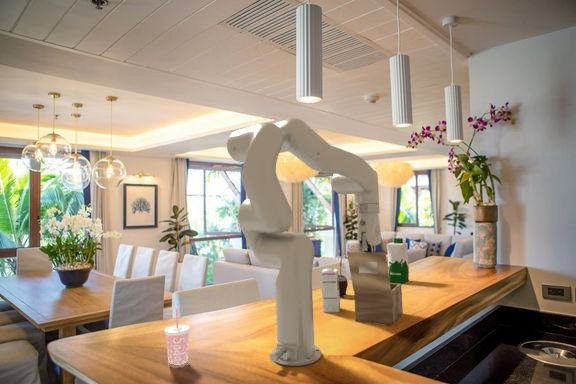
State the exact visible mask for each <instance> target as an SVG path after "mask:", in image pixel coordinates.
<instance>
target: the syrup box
mask: <svg viewBox="0 0 576 384" xmlns="http://www.w3.org/2000/svg"><path fill="white" fill-rule="evenodd" d="M338 275H339V269H338V268H323V269H322V270H321V272H320V276H321V294H322V295H321V297H322V310H323V311H322V312H324V313H339V312H340V311H341V300H340V299H341V297H340V294H339V279H338Z"/></svg>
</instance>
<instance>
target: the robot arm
mask: <svg viewBox="0 0 576 384" xmlns="http://www.w3.org/2000/svg"><path fill="white" fill-rule="evenodd" d="M226 149H227V152H228V154H229V156H230V157H231V158H232V159H233V160H234V161H236V162H239V163H243V165H242V170H241V182H242V185H243V189H244V192H245V194H246V196H247V199H245V200H244V201H243V202H242V203H241V204H240V206H239V208H238V212H237V213H238V214H237V219H238V224H239V227H240V229H241V231H242V233H243V236H244V237H245V240H246V241H247V244H248V246H249V247H250V249H251V251H252V253H253V255H254V257H255V258H256V259H257V261H258V262H260V264H262V265H264V266H266V267H267V266H268V267H272V268H278V269H279V271H278V274H277V278H276V280H275V283H274V284H275V286H274V295H275V316H276V319H275V320H276V341H277V342H276V346H275V348H274V349H273V350H272V351H271V354H270V355H269V359H270V361H271V362H273V363H274V362H276V363H277V364H279V365H283V366H287V367H288V366H290V367H298V366H299V367H301V366H307V365H311V364H313V363H316V362H317V361H318V360H319V359H321V356H322V350H321V347H319V346H317V345H316V344H315V326H314V324H315V322H314V303H313V268H314V261H315V260H314V259H315V246H314V243H313V241H312V240H311V238H310V237H308V236H307V235H306V234H304V233H301V232H298V231H297V232H296V231H289V230H290V229H291V228H292V226H293V224H294V213H293V211H292V207H291V206H290V203H289V201H288V199H287V196H286V195H285V192H284V190H283V187H282V186H281V184H280V181H279V178H278V176H277V163H278V157H279V155H280V154H281V153H286V152H289V153H290V154H292V155H293V156H295V157H296V158H297V159H298V160H300V162H302V163H303V164H305V165H306V166H307V167H309V168H310V169H311V170H312V171H316V172H319V173H325V174H332V177H331V180H330V184H331V188H332V189H333V191H334V192H336V193H337V194H340V195H354V208H355V209H354V210H355V215H357V243H358V245H359V246H360V247H362V248H361V251H362V252H376V247H377V246H378V245H380V244H381V243H382V233H381V223H380V216H379V215H380V213H381V211H380V210H381V209H380V194H379V192H380V191H379V176H378V172H377V171H376V170H374V168H373V167H372V166H371V165H370V164H369V163H368V162H367V161H366V160H365V159H363V158H362V157H360V156H359V155H357V154H355V153H353V152H350V151H347V150H344V149H342V148H340V147H337V146H334V145H331V144H330V143H329V142H327V140H326V139H324V138H323V137H322V136H321V135H319V134H318V132H316V131H315V130H314V129H313V128H311V126H309V125H308V124H307V123H306V122H304V121H303V120H302V119H300V118H296V117H290V118H286V119H283V120H279V121H277V122H261V123H257V124H254V125H251V126H248V127H244V128H241V129H238V130H235V131H233V132H232V133H231V134H230V135H229V137H228V139H227V142H226Z"/></svg>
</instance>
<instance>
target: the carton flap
mask: <svg viewBox="0 0 576 384" xmlns="http://www.w3.org/2000/svg"><path fill="white" fill-rule="evenodd" d="M386 252H387V251H386ZM386 252H383V251H375V252H364V251H350V250H349V251H346V253H347V255H346V256H347V260H348V261H347V262H348V266H349V272H350V277H351V278H350V279H351V285H352V289H353V292H354V291H356V292H368V293H381V294H391V287H390V280H389V271H388V258H387V254H386Z"/></svg>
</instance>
